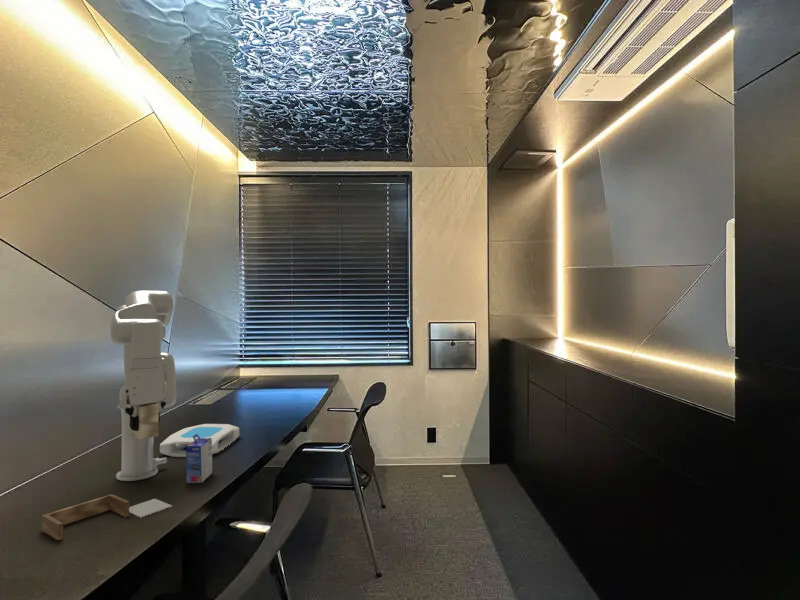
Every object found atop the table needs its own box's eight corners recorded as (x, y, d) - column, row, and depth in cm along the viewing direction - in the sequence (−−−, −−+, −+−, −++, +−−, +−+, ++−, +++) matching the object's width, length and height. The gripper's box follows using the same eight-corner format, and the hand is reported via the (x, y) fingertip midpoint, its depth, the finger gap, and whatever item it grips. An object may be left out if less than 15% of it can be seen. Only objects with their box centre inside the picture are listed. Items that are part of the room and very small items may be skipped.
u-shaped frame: (111, 508, 137) (111, 493, 137) (129, 516, 132) (129, 501, 132) (41, 531, 123) (42, 515, 123) (58, 541, 117) (58, 524, 118)
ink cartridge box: (196, 473, 166) (197, 431, 166) (212, 473, 166) (213, 431, 167) (184, 483, 156) (185, 438, 157) (202, 483, 156) (202, 438, 157)
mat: (154, 499, 143) (154, 498, 143) (172, 506, 138) (172, 505, 138) (123, 510, 135) (123, 509, 135) (140, 518, 130) (140, 516, 130)
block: (149, 432, 140) (149, 401, 140) (158, 435, 137) (158, 404, 137) (131, 436, 136) (131, 404, 136) (140, 439, 133) (140, 407, 133)
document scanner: (158, 457, 185) (158, 440, 185) (193, 437, 213) (193, 423, 213) (212, 458, 184) (212, 441, 184) (240, 438, 212) (240, 423, 212)
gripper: (167, 360, 146) (166, 420, 146) (107, 365, 132) (106, 432, 132) (181, 362, 141) (180, 424, 141) (120, 368, 127) (120, 436, 127)
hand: (144, 427), depth 136 cm, fingers closed on block, 5 cm apart
